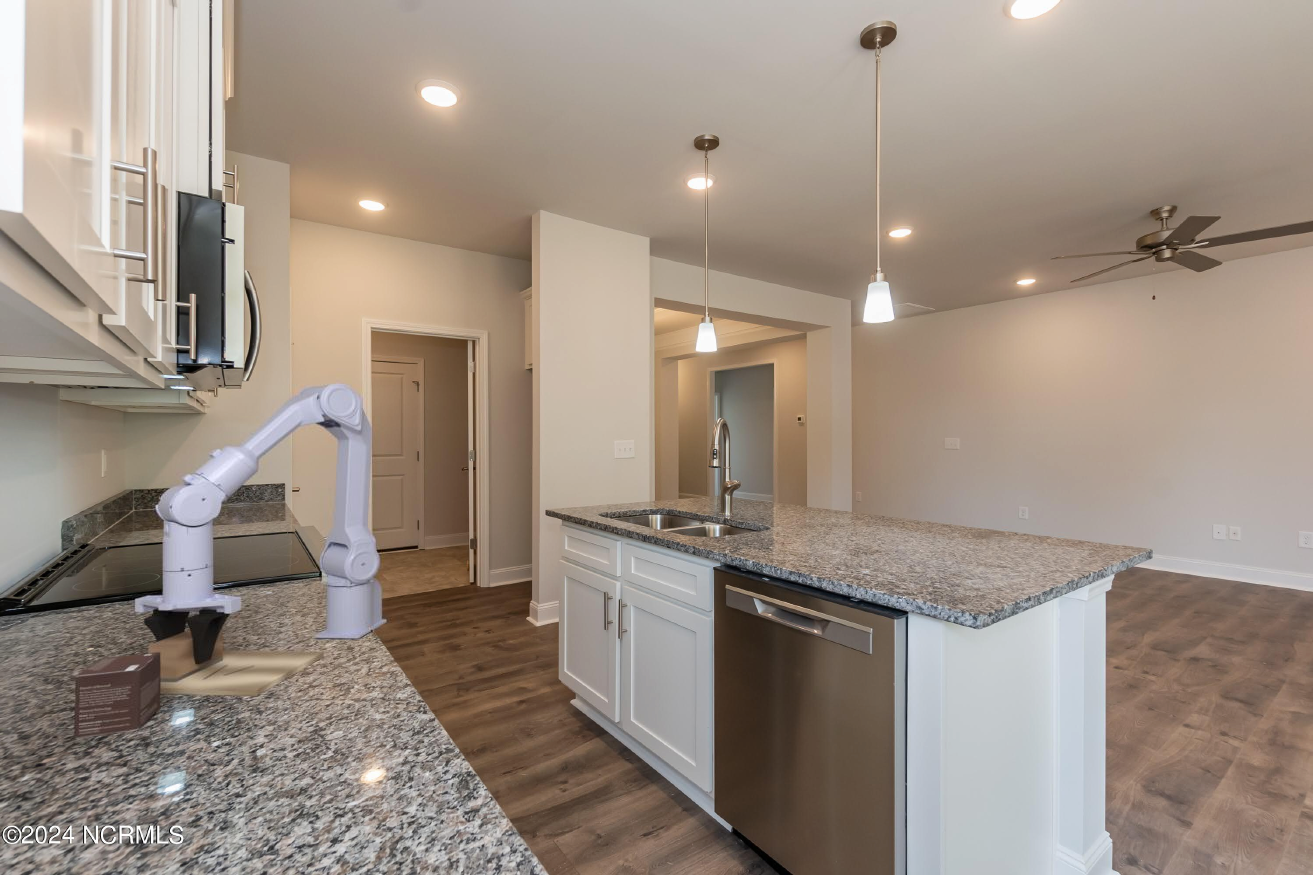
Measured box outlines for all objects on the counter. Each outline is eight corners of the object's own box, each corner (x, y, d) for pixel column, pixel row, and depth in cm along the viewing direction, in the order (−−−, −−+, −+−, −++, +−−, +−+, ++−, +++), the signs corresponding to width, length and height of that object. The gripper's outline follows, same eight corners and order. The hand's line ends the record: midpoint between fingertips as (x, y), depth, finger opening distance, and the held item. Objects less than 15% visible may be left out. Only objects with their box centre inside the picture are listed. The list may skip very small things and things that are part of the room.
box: (101, 716, 71) (102, 657, 71) (162, 708, 73) (162, 651, 73) (72, 740, 66) (72, 675, 66) (138, 731, 68) (139, 668, 68)
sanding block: (197, 659, 88) (197, 626, 88) (222, 660, 87) (222, 627, 88) (148, 681, 80) (148, 645, 80) (175, 681, 79) (175, 645, 80)
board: (178, 654, 92) (178, 649, 92) (323, 656, 91) (323, 651, 91) (87, 692, 78) (87, 686, 78) (257, 695, 77) (257, 689, 77)
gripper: (114, 573, 80) (113, 671, 80) (213, 574, 79) (213, 673, 79) (160, 562, 87) (160, 652, 87) (252, 563, 87) (252, 654, 86)
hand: (188, 661), depth 84 cm, fingers closed on sanding block, 4 cm apart
